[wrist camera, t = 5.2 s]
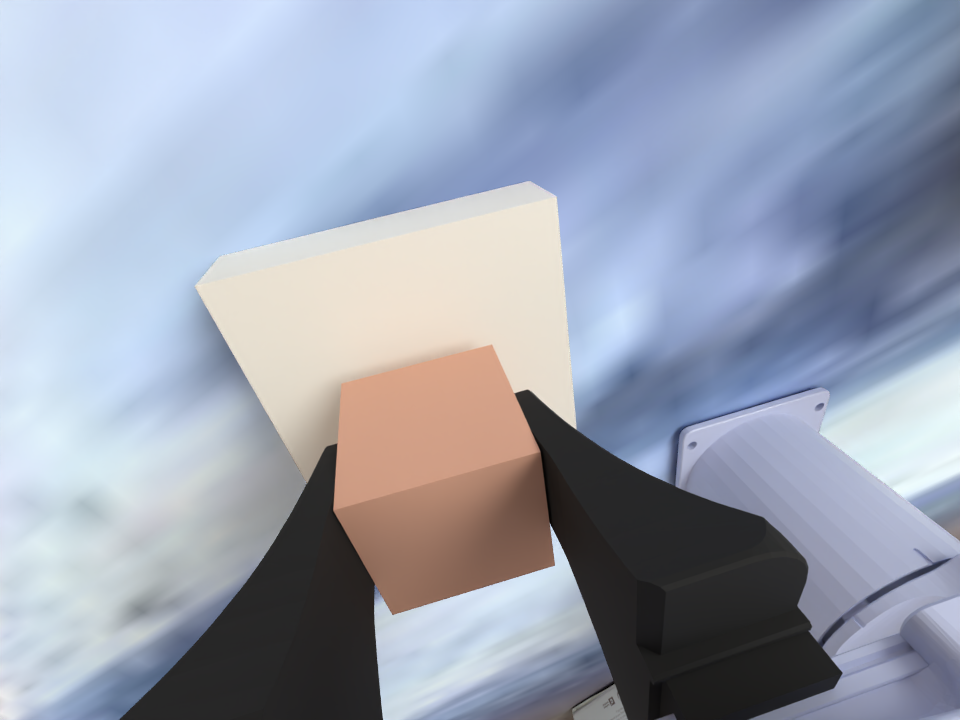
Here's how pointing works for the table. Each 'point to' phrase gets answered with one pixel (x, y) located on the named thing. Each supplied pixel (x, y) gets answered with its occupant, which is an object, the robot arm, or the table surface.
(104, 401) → the table surface
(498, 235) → the pedestal
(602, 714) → the skincare box
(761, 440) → the robot arm
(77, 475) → the table surface
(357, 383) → the cube
